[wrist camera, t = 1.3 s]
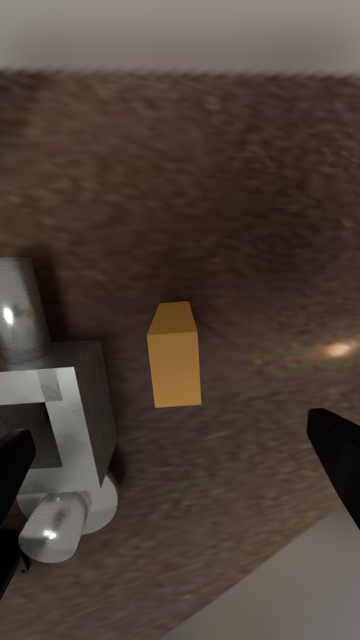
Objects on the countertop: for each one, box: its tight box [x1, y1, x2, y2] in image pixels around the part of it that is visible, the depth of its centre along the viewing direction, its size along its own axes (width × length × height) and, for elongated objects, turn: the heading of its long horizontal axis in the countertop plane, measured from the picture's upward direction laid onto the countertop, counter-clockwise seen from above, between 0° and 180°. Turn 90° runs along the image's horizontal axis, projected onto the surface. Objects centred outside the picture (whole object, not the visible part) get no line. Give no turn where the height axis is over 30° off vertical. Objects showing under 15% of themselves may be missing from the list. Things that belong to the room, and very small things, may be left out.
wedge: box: [147, 301, 201, 408], centre depth 15 cm, size 4×2×8 cm, turn 4°
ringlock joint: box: [0, 257, 119, 563], centre depth 17 cm, size 26×9×6 cm, turn 4°
